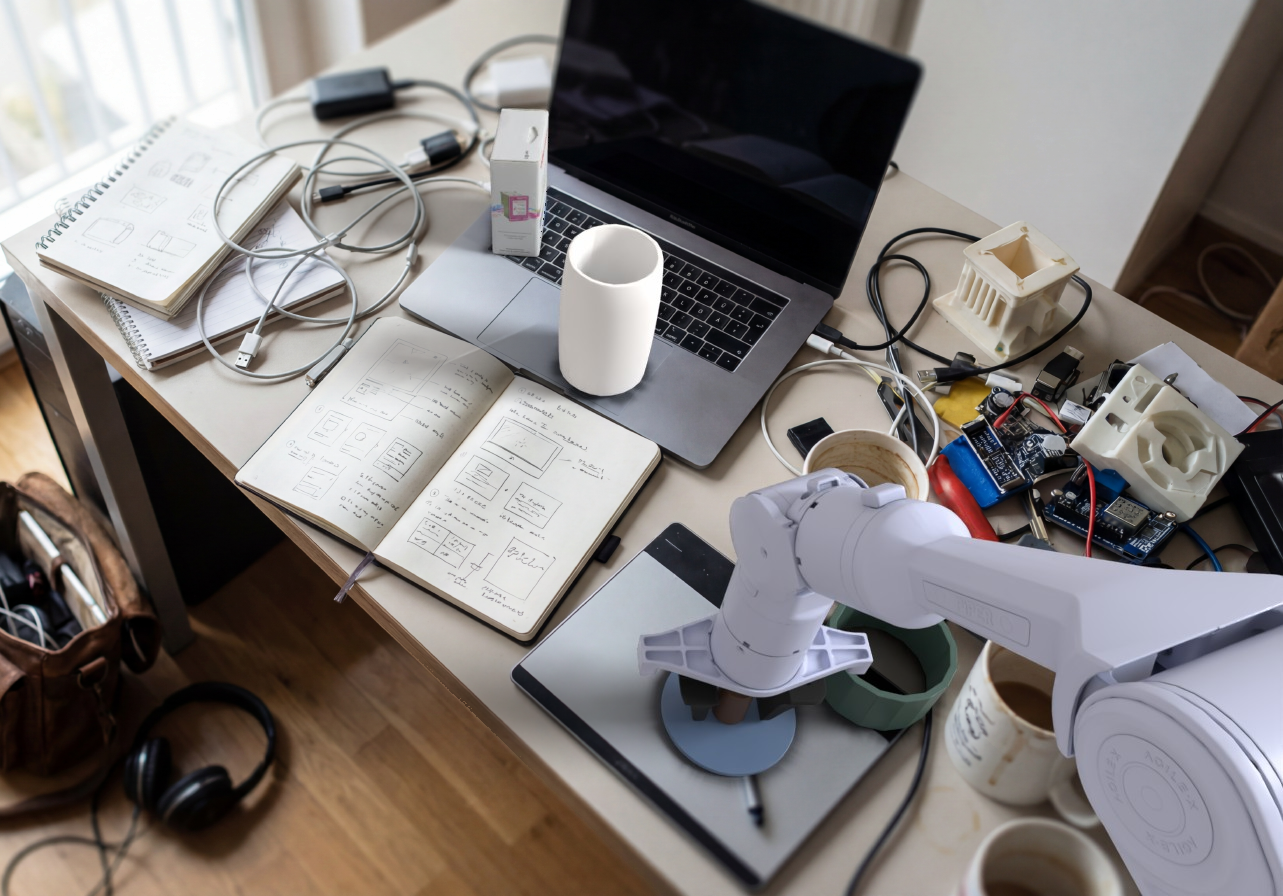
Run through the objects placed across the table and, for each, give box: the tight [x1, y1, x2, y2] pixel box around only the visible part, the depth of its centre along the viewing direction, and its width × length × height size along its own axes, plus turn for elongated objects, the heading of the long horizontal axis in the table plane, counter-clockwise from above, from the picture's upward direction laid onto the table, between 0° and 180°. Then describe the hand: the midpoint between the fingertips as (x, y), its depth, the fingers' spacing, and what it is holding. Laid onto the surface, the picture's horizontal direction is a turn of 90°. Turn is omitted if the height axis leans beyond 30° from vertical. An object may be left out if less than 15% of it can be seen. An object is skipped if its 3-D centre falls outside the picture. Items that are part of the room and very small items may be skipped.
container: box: [824, 602, 958, 732], centre depth 72 cm, size 9×9×5 cm
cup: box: [558, 223, 664, 397], centre depth 88 cm, size 8×8×14 cm
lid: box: [660, 671, 797, 778], centre depth 71 cm, size 9×9×6 cm
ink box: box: [489, 108, 550, 258], centre depth 101 cm, size 9×5×12 cm, turn 172°
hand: (729, 707), depth 72 cm, fingers open, 4 cm apart
